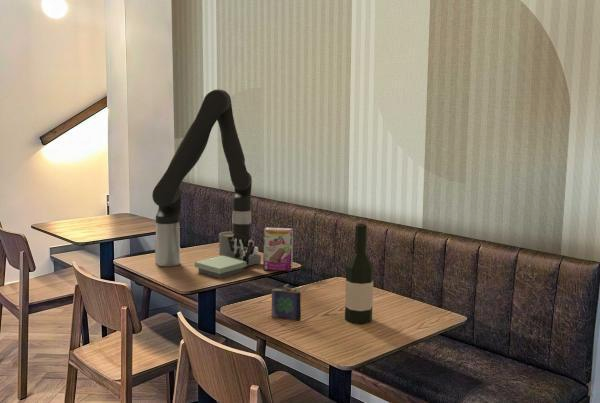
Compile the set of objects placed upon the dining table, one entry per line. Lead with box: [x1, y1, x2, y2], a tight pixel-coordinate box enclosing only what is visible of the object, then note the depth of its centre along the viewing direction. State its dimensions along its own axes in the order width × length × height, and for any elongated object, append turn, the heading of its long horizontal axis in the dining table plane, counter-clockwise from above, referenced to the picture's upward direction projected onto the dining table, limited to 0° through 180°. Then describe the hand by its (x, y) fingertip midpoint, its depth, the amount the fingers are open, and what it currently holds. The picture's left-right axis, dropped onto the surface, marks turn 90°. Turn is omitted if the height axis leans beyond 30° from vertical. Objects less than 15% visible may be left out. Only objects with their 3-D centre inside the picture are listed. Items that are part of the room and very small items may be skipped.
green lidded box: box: [194, 255, 247, 279], centre depth 235 cm, size 14×14×4 cm
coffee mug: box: [218, 230, 244, 258], centre depth 259 cm, size 13×10×10 cm
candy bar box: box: [262, 226, 294, 272], centre depth 239 cm, size 11×5×16 cm, turn 84°
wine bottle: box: [344, 221, 375, 325], centre depth 183 cm, size 8×8×30 cm
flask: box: [271, 283, 302, 322], centre depth 185 cm, size 9×3×11 cm, turn 72°
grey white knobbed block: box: [234, 246, 262, 267], centre depth 245 cm, size 4×12×6 cm, turn 140°
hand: (241, 263), depth 243 cm, fingers closed on grey white knobbed block, 4 cm apart
